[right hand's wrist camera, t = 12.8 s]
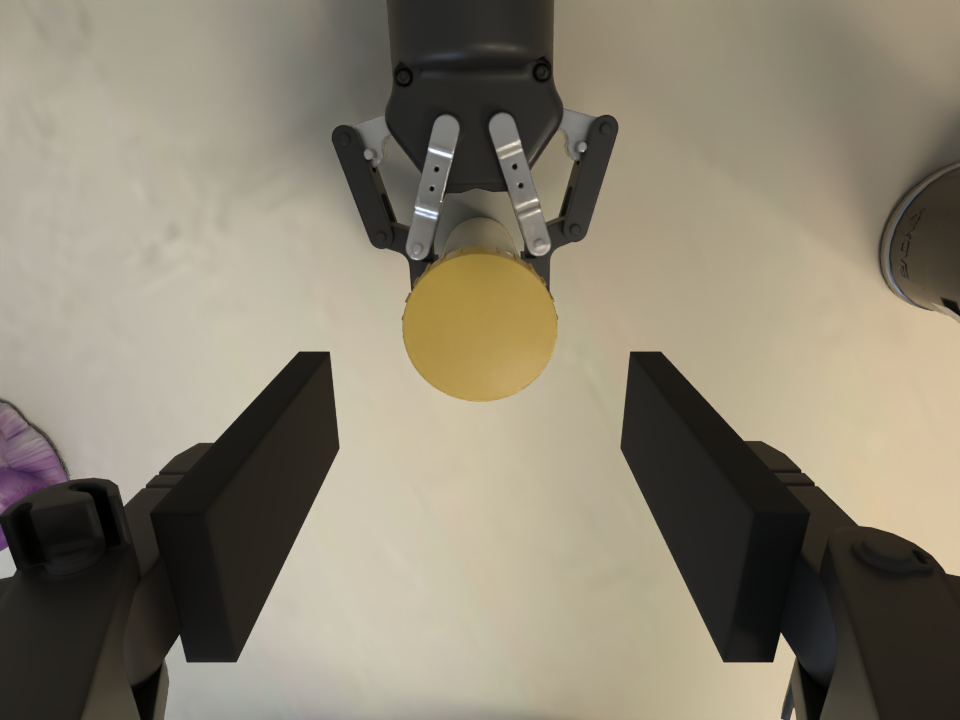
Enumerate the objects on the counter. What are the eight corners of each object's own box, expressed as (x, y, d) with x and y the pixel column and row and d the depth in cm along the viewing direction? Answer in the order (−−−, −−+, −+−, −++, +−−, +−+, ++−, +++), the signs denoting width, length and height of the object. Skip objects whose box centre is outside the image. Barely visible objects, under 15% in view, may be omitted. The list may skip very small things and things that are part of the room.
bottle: (505, 209, 35) (527, 252, 19) (521, 277, 36) (553, 369, 20) (436, 226, 35) (402, 283, 19) (455, 294, 36) (437, 396, 21)
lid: (536, 227, 20) (541, 232, 18) (566, 368, 22) (572, 384, 20) (387, 264, 20) (379, 273, 19) (429, 400, 22) (425, 418, 21)
